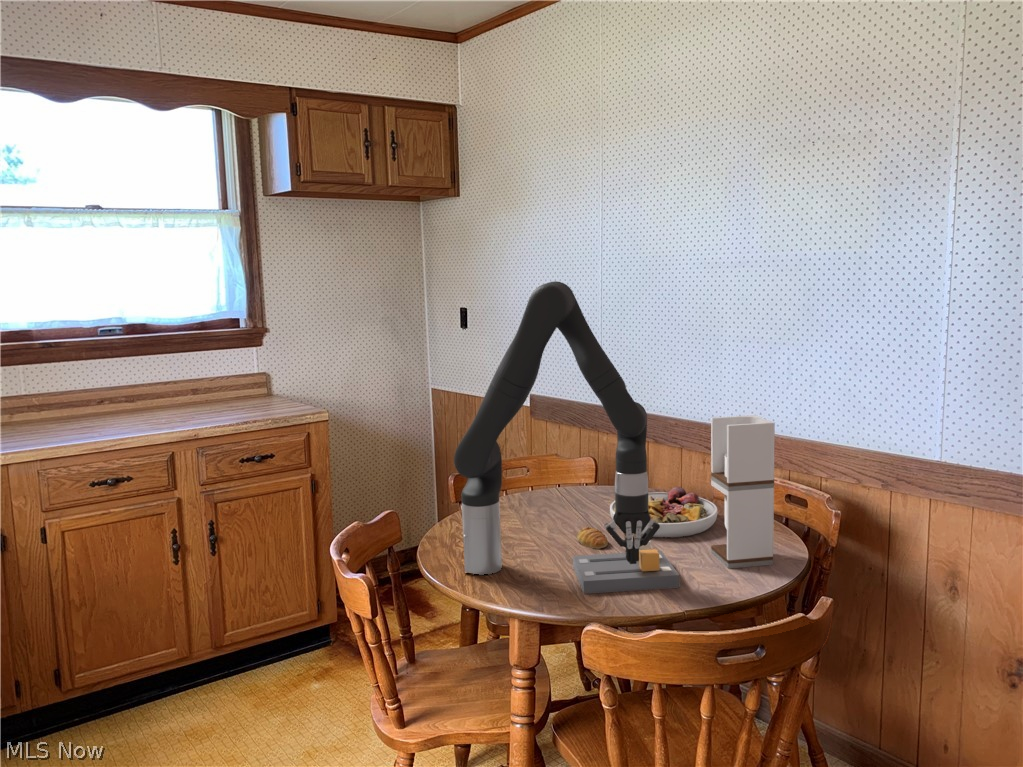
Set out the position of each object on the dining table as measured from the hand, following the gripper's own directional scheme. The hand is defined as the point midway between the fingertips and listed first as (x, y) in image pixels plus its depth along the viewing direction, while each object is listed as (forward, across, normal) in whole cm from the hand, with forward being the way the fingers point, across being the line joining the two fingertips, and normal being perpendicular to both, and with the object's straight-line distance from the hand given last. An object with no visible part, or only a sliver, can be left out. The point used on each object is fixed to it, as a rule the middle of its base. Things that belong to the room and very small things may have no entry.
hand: (632, 562), depth 182 cm
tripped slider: (+2, +4, 0) cm, 4 cm away
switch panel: (+5, -1, +4) cm, 7 cm away
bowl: (+6, +18, +42) cm, 46 cm away
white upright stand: (+5, +30, +11) cm, 32 cm away
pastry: (+6, -4, +29) cm, 30 cm away
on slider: (+2, +4, +8) cm, 9 cm away
